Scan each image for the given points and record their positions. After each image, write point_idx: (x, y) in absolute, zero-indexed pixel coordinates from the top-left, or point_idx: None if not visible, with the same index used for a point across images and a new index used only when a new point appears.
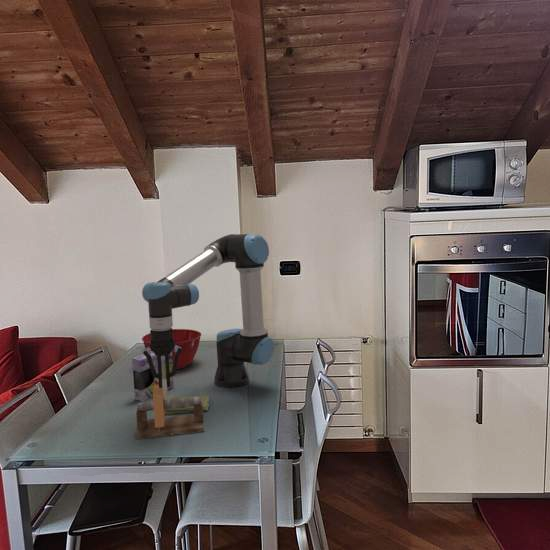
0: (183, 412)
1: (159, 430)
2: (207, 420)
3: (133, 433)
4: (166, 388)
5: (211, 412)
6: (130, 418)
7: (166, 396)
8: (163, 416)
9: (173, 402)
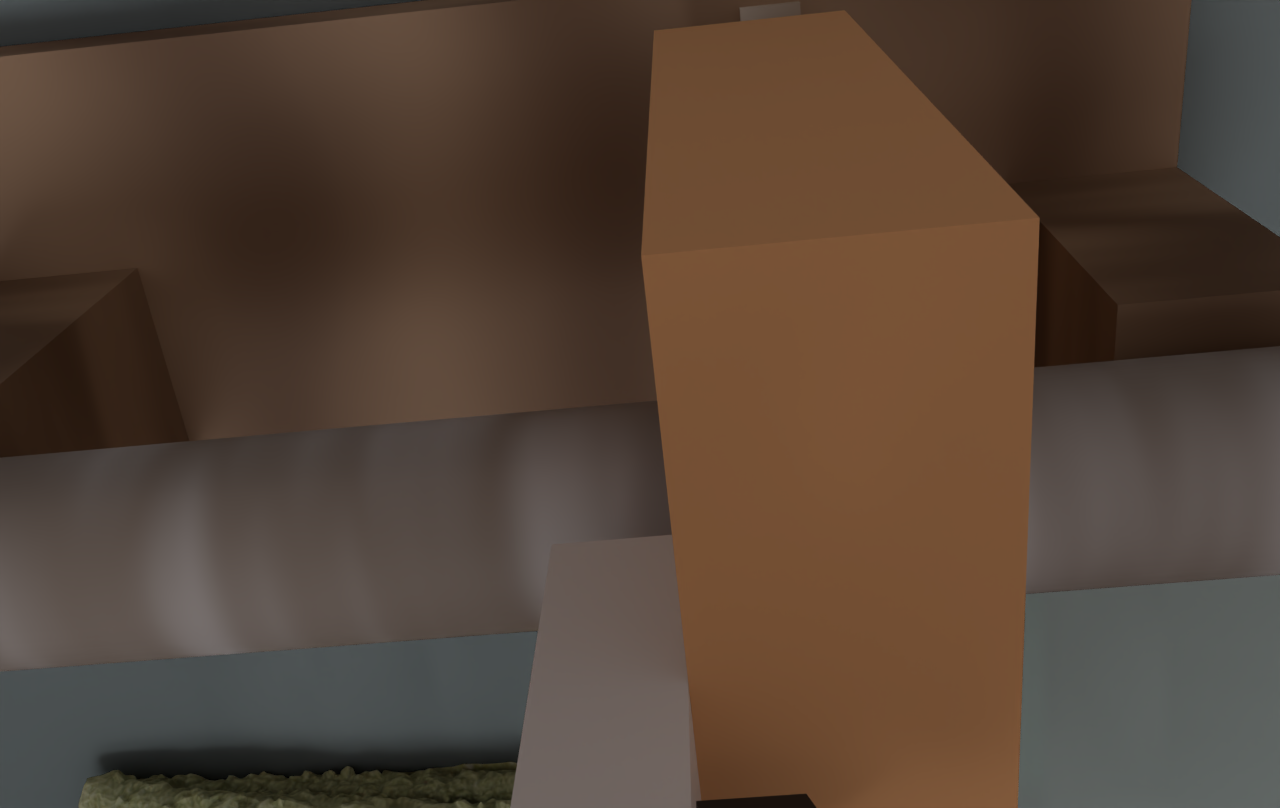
0: (458, 776)
1: None
2: None
3: (1218, 192)
4: (538, 738)
5: (38, 733)
6: (1251, 734)
7: (577, 561)
8: (654, 73)
9: (420, 482)
